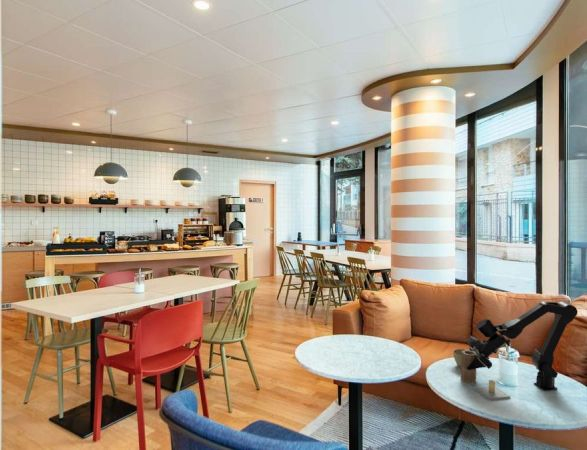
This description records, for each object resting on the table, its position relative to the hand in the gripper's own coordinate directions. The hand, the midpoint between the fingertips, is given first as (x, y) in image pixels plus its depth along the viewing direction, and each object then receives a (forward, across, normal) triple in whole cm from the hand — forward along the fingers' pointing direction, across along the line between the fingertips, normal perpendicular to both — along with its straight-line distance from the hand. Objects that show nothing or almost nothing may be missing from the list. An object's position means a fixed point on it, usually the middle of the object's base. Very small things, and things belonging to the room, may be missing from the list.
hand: (465, 366), depth 180 cm
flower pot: (+3, -16, +7) cm, 17 cm away
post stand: (-1, +11, +10) cm, 15 cm away
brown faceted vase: (+4, 0, +6) cm, 7 cm away
